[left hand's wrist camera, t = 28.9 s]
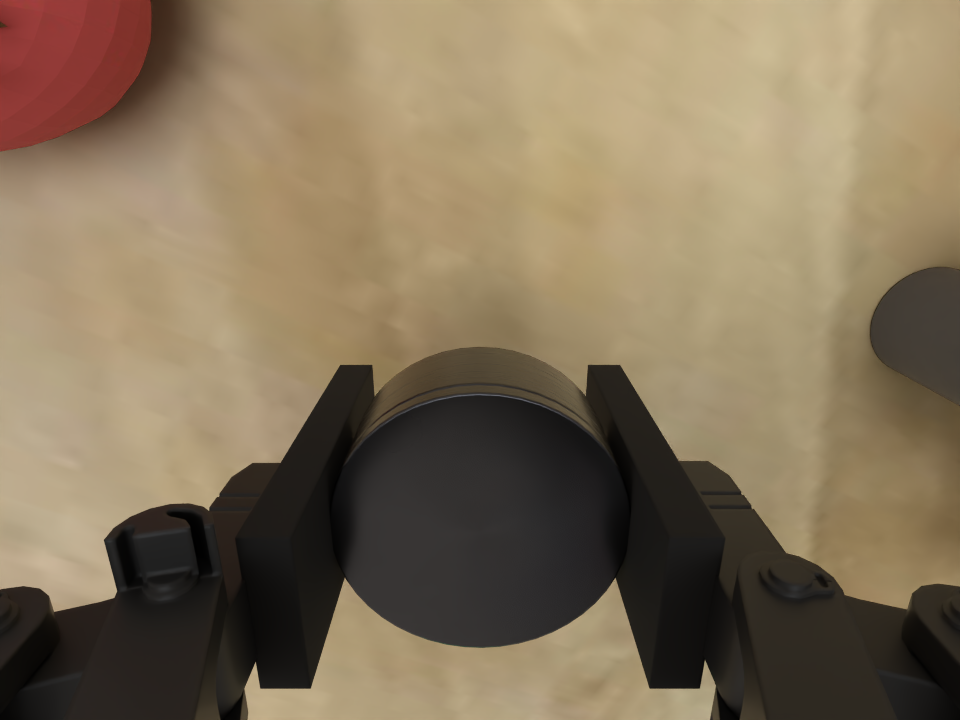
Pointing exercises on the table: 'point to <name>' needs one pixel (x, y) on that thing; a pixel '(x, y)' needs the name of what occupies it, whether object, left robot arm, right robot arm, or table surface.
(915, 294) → the dark grey cylinder
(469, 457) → the lid
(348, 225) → the table surface
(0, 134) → the toy
